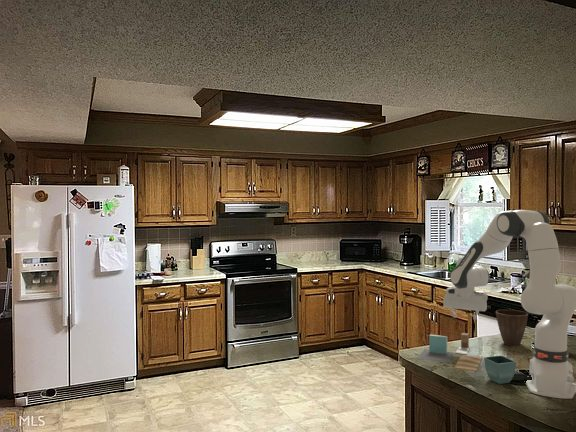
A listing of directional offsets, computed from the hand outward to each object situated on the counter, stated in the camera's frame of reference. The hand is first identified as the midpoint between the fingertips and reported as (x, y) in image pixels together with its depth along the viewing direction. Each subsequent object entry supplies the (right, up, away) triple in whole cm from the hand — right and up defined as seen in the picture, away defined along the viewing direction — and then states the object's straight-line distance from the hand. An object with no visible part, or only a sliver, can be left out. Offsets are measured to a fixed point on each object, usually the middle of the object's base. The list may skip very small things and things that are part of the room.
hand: (464, 318), depth 244 cm
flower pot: (-3, -16, -47) cm, 50 cm away
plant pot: (+27, -15, +8) cm, 31 cm away
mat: (-18, -15, -13) cm, 27 cm away
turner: (-2, -15, -5) cm, 16 cm away
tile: (-16, -15, -9) cm, 23 cm away
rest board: (-7, -15, -24) cm, 30 cm away
